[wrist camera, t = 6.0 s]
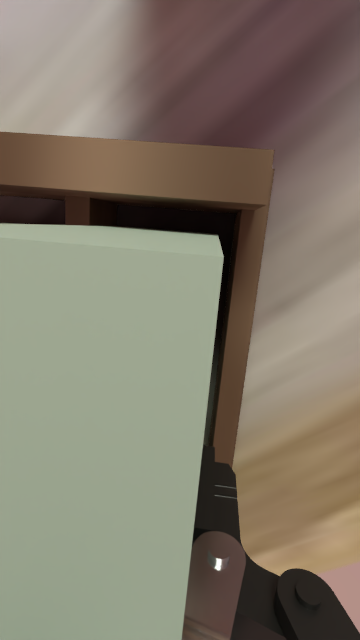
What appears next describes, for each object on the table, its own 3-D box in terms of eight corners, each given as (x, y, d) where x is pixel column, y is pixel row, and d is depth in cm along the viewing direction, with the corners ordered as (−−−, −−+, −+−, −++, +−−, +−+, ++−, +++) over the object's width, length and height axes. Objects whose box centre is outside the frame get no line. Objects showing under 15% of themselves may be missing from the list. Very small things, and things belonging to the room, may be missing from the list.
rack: (260, 183, 16) (291, 151, 10) (213, 531, 22) (213, 664, 15) (-89, 157, 18) (-274, 113, 11) (-51, 492, 23) (-158, 599, 17)
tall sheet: (217, 233, 16) (223, 256, 3) (188, 509, 20) (135, 1051, 7) (134, 226, 16) (-228, 217, 3) (123, 499, 21) (-50, 1001, 7)
